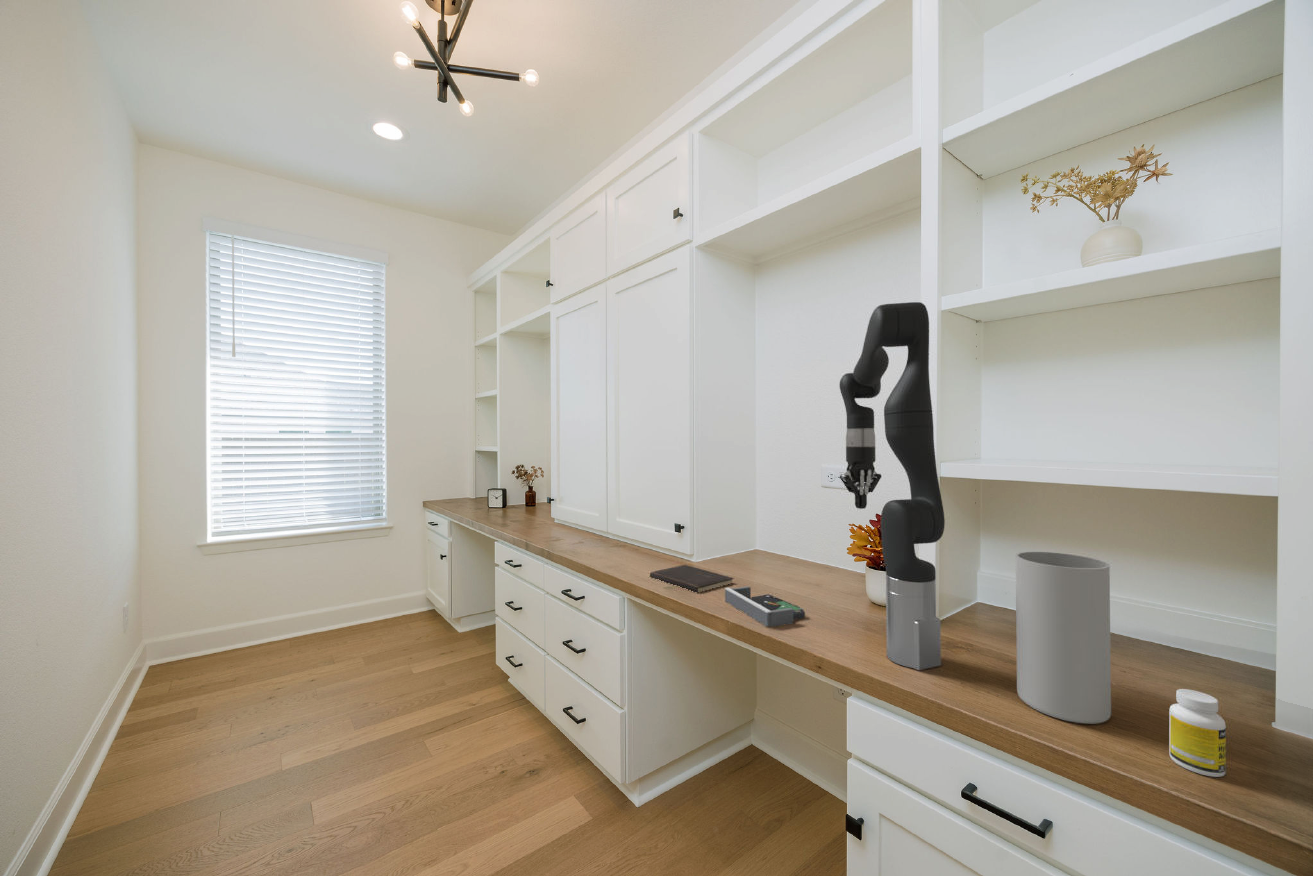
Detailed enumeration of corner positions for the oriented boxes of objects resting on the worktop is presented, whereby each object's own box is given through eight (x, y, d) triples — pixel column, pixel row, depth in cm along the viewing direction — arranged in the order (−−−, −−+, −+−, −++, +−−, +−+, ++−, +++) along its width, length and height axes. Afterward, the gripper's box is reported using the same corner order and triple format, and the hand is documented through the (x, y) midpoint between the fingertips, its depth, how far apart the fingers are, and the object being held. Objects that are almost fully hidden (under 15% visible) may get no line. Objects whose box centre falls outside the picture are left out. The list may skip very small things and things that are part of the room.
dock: (793, 623, 125) (793, 608, 125) (767, 627, 123) (767, 611, 123) (748, 598, 145) (748, 585, 145) (725, 601, 143) (725, 588, 143)
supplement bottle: (1230, 784, 66) (1229, 710, 66) (1171, 766, 70) (1170, 696, 70) (1222, 764, 70) (1221, 694, 70) (1167, 748, 74) (1166, 682, 74)
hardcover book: (684, 571, 178) (684, 564, 178) (733, 585, 161) (733, 578, 161) (649, 579, 168) (649, 572, 168) (697, 595, 150) (697, 587, 150)
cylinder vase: (1023, 681, 95) (1021, 548, 95) (1112, 704, 86) (1110, 559, 86) (1011, 706, 86) (1009, 560, 86) (1109, 736, 77) (1107, 573, 77)
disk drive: (738, 609, 138) (774, 626, 125) (738, 599, 138) (774, 614, 125) (768, 603, 143) (806, 619, 130) (768, 593, 143) (805, 608, 130)
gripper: (851, 445, 132) (851, 511, 132) (889, 445, 137) (890, 508, 137) (831, 445, 139) (832, 507, 139) (869, 445, 144) (869, 505, 144)
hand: (861, 508), depth 138 cm, fingers closed
